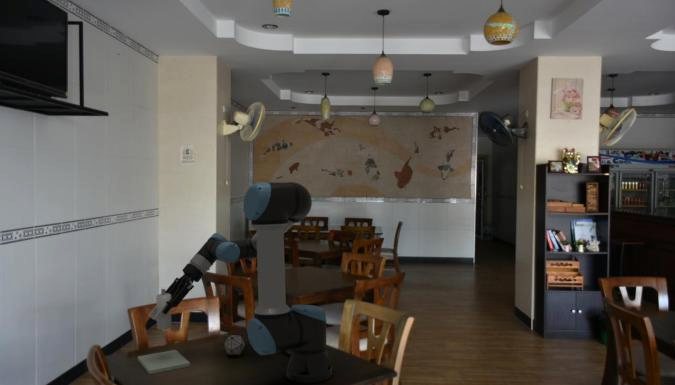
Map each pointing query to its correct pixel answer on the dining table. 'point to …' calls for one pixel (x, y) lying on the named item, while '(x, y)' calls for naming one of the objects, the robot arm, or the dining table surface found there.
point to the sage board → (163, 361)
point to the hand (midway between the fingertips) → (153, 318)
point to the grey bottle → (160, 301)
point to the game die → (234, 345)
